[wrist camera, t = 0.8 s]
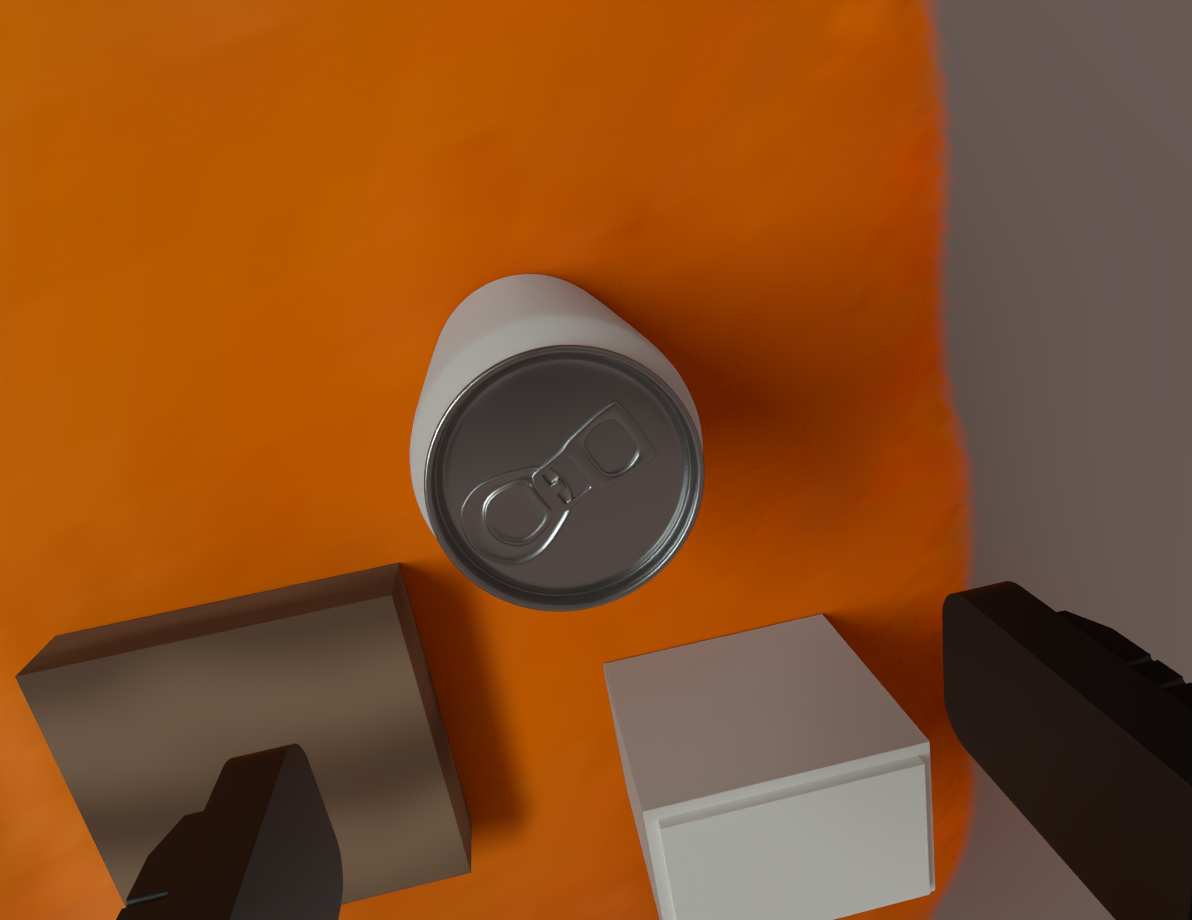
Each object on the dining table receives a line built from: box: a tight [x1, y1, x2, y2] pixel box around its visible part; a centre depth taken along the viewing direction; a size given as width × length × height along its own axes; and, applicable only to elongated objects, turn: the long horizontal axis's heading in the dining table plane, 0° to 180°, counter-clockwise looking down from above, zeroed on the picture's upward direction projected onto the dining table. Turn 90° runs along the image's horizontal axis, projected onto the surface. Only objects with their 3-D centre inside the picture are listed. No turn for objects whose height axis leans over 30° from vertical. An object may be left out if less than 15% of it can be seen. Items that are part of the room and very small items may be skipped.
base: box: [15, 563, 471, 907], centre depth 29 cm, size 12×12×2 cm
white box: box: [603, 614, 935, 920], centre depth 28 cm, size 6×9×8 cm, turn 100°
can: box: [410, 274, 704, 611], centre depth 21 cm, size 6×6×12 cm
